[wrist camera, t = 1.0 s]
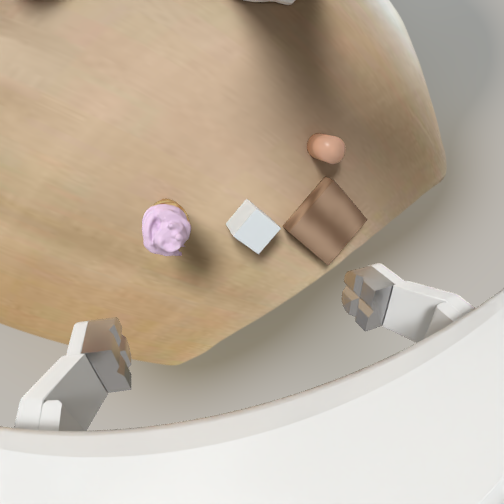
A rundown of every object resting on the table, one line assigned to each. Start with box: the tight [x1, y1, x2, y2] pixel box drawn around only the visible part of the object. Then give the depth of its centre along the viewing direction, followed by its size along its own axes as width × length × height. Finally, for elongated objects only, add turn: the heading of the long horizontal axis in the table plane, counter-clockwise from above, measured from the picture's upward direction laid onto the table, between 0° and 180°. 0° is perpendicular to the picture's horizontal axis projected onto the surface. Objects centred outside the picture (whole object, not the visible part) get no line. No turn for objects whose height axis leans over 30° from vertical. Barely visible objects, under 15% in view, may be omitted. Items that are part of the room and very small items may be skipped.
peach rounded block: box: [307, 133, 345, 164], centre depth 45 cm, size 5×5×5 cm
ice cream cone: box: [142, 199, 191, 256], centre depth 38 cm, size 7×6×15 cm
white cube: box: [226, 199, 281, 254], centre depth 47 cm, size 6×6×6 cm
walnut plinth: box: [283, 177, 367, 265], centre depth 53 cm, size 12×12×3 cm
